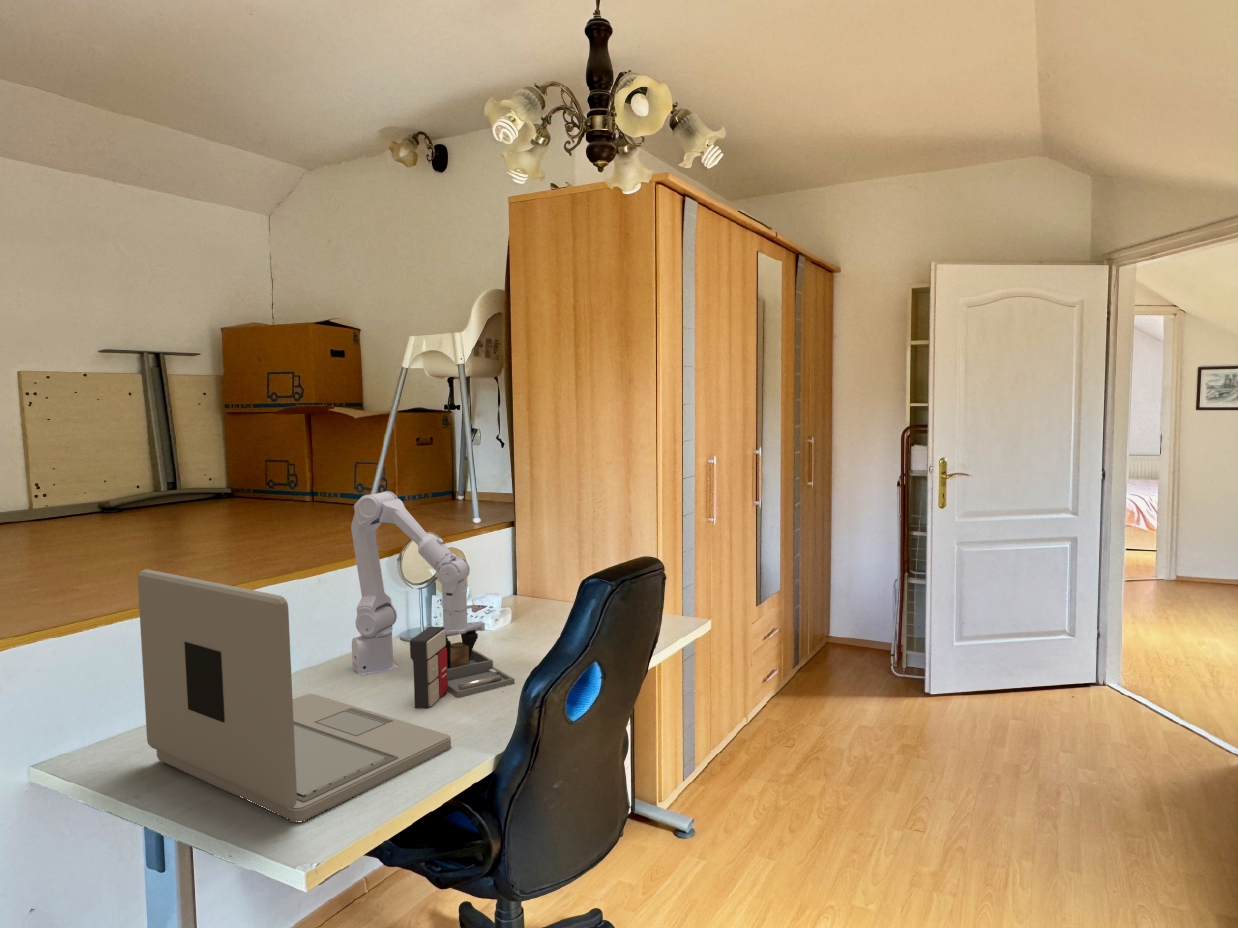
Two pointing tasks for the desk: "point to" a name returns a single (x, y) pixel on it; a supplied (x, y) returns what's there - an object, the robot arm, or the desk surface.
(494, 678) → the rod
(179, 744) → the laptop
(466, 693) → the case lid open
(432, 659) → the drawer chest
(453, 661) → the module block
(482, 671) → the case
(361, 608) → the robot arm
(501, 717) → the desk surface
